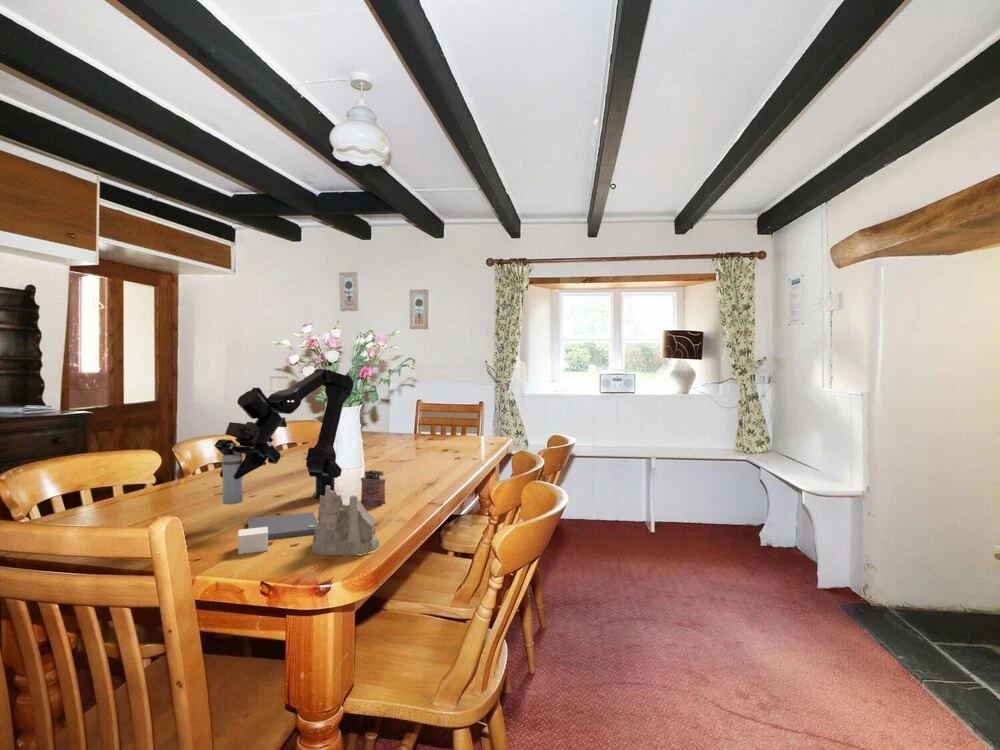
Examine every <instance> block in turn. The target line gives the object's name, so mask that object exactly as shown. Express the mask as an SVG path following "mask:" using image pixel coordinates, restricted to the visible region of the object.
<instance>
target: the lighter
mask: <svg viewBox="0 0 1000 750" xmlns="http://www.w3.org/2000/svg"><path fill="white" fill-rule="evenodd" d="M381 476H382V477H381ZM383 476H384V471H382V470H375V469H370V470H364V476H362V477H360V481H361V497H360V498H361V499H360V503H361V504H363V503H364V504H365V505H369V504H372V505H371V506H383V505H382V504H385V505H386V480H387V479H386V478H384V477H383Z"/></svg>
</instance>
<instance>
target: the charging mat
mask: <svg viewBox="0 0 1000 750" xmlns="http://www.w3.org/2000/svg"><path fill="white" fill-rule="evenodd" d="M247 521H248V527H247V528H243V529H242V528H241V529H238V530H237V533H238V535H237V554H238V555H245V554H244V553H246V554H251V553H252V554H253V553H259V552H260V553H261V552H266V551H267V552H268V551H269V540H273V539H282V538H289V537H297V536H307V535H315V529H316V528H317V527H319V521H318V520H317V518H316V516H315V513H314V512H313V511H311V512H301V513H292V514H282V515H273V516H264V517H263V516H262V517H253V518H248V520H247Z"/></svg>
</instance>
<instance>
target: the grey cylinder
mask: <svg viewBox="0 0 1000 750" xmlns="http://www.w3.org/2000/svg"><path fill="white" fill-rule="evenodd" d="M243 461H244V460H243V454H242V453H241V454H231V455H222V460H221V463H222V466H223V478H222V504H223V505H238V504H241V503H242V502H243V501H244V500H243V495H244V494H243V492H244V490H243V489H244V488H243V487H244V486H243V482H244V481H243V477H244V476H242V477H241V478H239V479H237V480H236V479H235V478H234V475H235V473H236V472H237V470H238V468H239V467H240V465H241V464H242V462H243Z"/></svg>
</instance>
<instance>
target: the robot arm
mask: <svg viewBox="0 0 1000 750" xmlns="http://www.w3.org/2000/svg"><path fill="white" fill-rule="evenodd" d="M321 386H323V387H325V389H324V393H325V395H326V398H327V402H326V405H325V409H324V414H323V418H322V422H321V427H320V429H319V435H318V437H317V438H318V439H317V442H316V444H315V445H314V446H313V447H308V449H307V454H306V455H307V456H306V458H305V463H306V464H305V465H306V466H305V467H306V468H307V471H308V475H309V477H314V478H315V492H313V494H312V495H313V496H314V499H320V496H325V487H326V486H327V485H328V486H330V490H333V491H334V493H335V495H338V494H337V493H336V491H335V484H336V483H335V479H337V478H339V477H341V475H342V468H341V467H340V466H339V464H338V463H337V462H336V460H337V453H336V450H335V447H334V444H335V440H336V436H337V433H338V427H339V423H340V419H341V415H342V410H343V405H344V403H345V402H346V401H347V399H348V398H349V397H350V396H351V395H352V391H353V388H354V380H353V378H352V376H351V375H348V374H342V373H340V372H339V373H338V372H336V371H333V370H331V369H330V368H317V369H315V370H313V372H312V373H310V374H309V375H308V376H306V377H304V378H303V379H302V380H300V381H299V382H297V383H295V384H294V385H293V386H291V387H289V388H285V389H281V390H278V391H276V392H273V393H271V394H269V396H268V397H267V396H266V395H265V394H264V392H263V390H262V389H261V388H260V387H252V388H251V390H249V391H246V392H244V393H243V394H242V395H240V396H239V397H238V399H237V405H238V406H240V408H241V409H242V410H243V411H244V412H245V413H246V415H247V416H248V417H249V418H250V419H252V420H256V421H254V422H253V421H247V422H246V423H241V422H231V421H230V422H229V423H228V424H227V428H226V430H225V433H224V434H225V435H226V436H231V437H233V438H235V439H234V440H235V441H233V440H232V439H228V438H227V439H225V438H223V439H222V438H221V439H218V440H217V441H216V442H215V444H214V447H215V449H216V450H217V451H219V453H221V454H222V456H224V455H231V454H241V455H244V460H242V461H243V462H242V464H241V465H240V467H239V468H238V470H237V472H236V473H235V475H234V478H235V479H236V480H237V479H239V478H241V477H242V476H243V477H244V476H246V475H247V474H249V473H252V471H254V470H256V469H259V468H260V467H263V466H265V465H266V464H267V463H268V464H274V465H277V464H278V463H279V461H280V459H281V452H280V451H279V450H278V449H277V448H276V447H275V445H273V443H272V442H273V441H274V439H273V438H272V436H273V435H274V434H275V432H276V431H277V429H278V428H286V427H288V424H287V421H286V417H282V416H281V415H280V414H284V415H285V414H286V415H287V414H288V415H291V414H292V413H294V412H295V411H297V409H299V407H300V406H301V405H302V404H301V403H302V401H303V400H304V399H305V398H306V397H308V396H309V395H310V394H312V393H314V392H315V391H316V390H318V388H320V387H321ZM237 443H238V445H237ZM266 460H267V462H266ZM219 477H220V478H222V479H223V465H222V468H221V470H220V474H219Z"/></svg>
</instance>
